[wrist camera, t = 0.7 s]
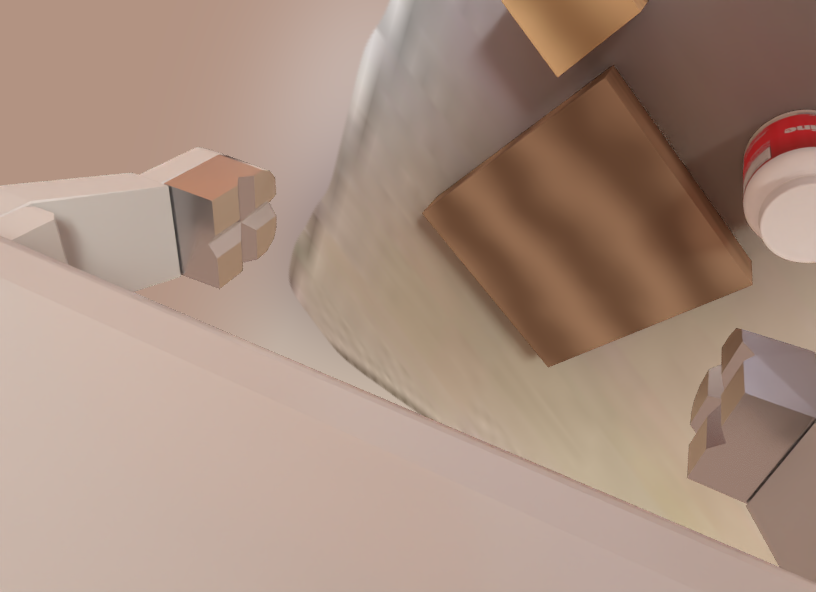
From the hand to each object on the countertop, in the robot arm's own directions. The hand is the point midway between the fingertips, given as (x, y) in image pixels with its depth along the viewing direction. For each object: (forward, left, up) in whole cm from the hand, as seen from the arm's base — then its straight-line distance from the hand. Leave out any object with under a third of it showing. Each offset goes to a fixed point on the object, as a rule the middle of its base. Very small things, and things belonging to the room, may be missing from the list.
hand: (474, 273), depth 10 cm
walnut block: (+14, +11, -37) cm, 41 cm away
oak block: (+4, -3, -37) cm, 37 cm away
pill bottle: (-1, +14, -37) cm, 40 cm away
